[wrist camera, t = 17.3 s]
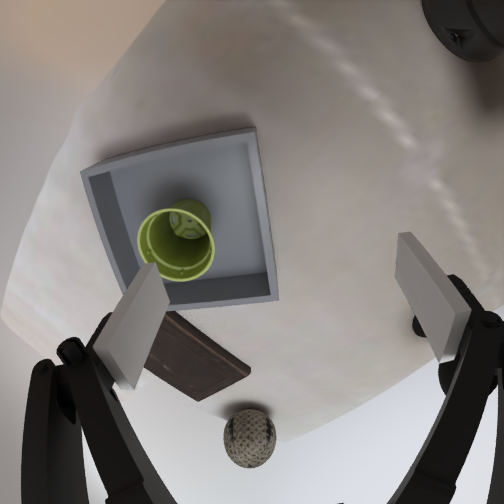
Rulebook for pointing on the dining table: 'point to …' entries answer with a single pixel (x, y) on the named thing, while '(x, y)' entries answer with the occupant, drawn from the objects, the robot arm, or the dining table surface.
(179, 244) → the plant pot
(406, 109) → the dining table surface
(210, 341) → the hardcover book
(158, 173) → the crate
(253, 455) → the decorative egg
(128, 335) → the robot arm
